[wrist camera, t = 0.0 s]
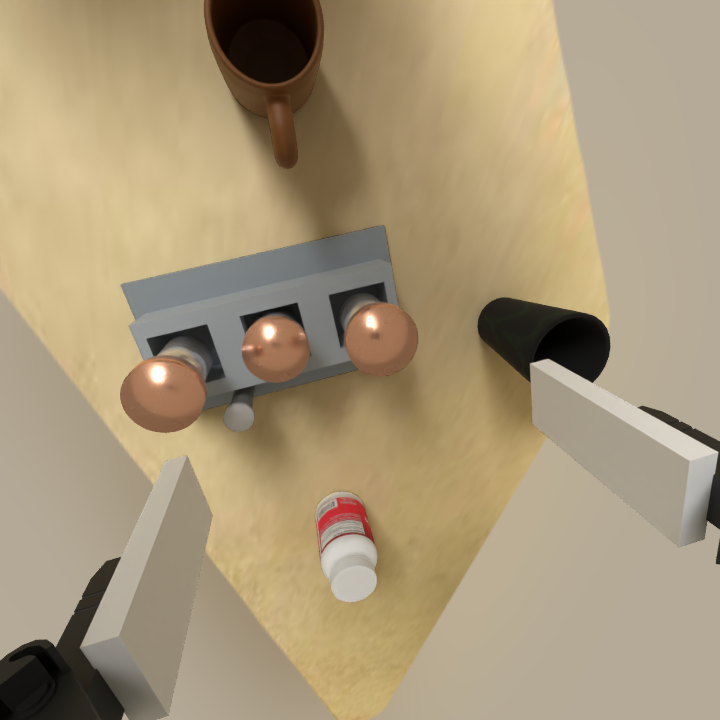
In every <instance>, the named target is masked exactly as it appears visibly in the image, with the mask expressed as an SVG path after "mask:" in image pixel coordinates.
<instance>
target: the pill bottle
mask: <svg viewBox="0 0 720 720" xmlns="http://www.w3.org/2000/svg"><path fill="white" fill-rule="evenodd" d="M315 520H316V528H317V536H318V544H319V553H320V562H321V567H322V571H323V573H324V575H325V576H326V577H327V578H328V579H329V580H330V584H331V590H332V593H333V595H334V596H335V597H336V598H337V599H339V600H341V601H344V602H357V601H360V600H363V599H364V598H366V597H368V596H369V595H370V594H371V593H372V592H373V591H374V589H375V587H376V585H377V576H376V572H375V566H376V564H377V558H378V556H377V550H376V546H375V542H374V539H373V536H372V532H371V529H370V525H369V522H368V518H367V515H366V511H365V508H364V505H363V503H362V501H361V500H360V498H359V497H358V496H356V495H355V494H353V493H350V492H335V493H332V494H330V495H328V496H326V497H325V498H324V499H323V500H322V501H321V502H320V503H319V505H318V506H317V509H316V513H315Z"/></svg>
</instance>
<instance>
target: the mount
mask: <svg viewBox="0 0 720 720" xmlns="http://www.w3.org/2000/svg"><path fill="white" fill-rule="evenodd" d="M121 287H122V290H123V292H124V294H125V297H126V299H127V301H128V304H129V306H130V308H131V311H132V313H133V315H134V318H135V320H136V321H134V322H133V323H132V324H130V325H129V328H130V330H131V333H132V335H133V337H134V339H135V342H136V344H137V346H138V349H139V351H140V353H141V356H142V358H143V360H146V359H148V358H150V357H154V356H157V355H158V354H159V353H160V351H161V350H162V349H163V348H164V347H165V345H166V344H167V343H168V342H169V341H170V340H172V339H173V338H176V337H178V336H184V335H187V336H194V337H197V338H199V339H201V340H202V341H204V342H205V343H206V344H207V345H208V347H209V348H210V350H211V352H212V356H213V363H212V367H211V369H210V371H209V373H208V376H207V378H206V380H205V382H206V385H207V397H206V401H205V404H204V406H203V409H202V410H205V409H209V408H213V407H217V406H221V405H225V404H228V403H231V401H232V397H233V393H234V390H238V389H242V388H246V387H250V386H253V385H254V386H255V391H254V397H255V396H259V395H263V394H267V393H271V392H274V391H278V390H282V389H286V388H290V387H294V386H298V385H301V384H305V383H309V382H313V381H317V380H321V379H324V378H328V377H332V376H336V375H340V374H344V373H347V372H351V371H355V370H359V369H358V368H357V367H356V366H355V365H354V364H353V363H352V361H351V359H350V357H349V355H348V353H347V351H346V348H345V344H344V332H345V331H344V329H343V327H342V325H341V323H340V319H339V313H340V309H341V306H342V304H343V303H344V301H345V300H346V299H347V298H349V297H350V296H352V295H354V294H357V293H368V294H371V295H373V296H375V297H376V298H377V299H378V300H380V301H381V302H386V303H390V304H393V305H395V306H397V307H398V301H397V295H396V290H395V284H394V278H393V272H392V266H391V262H390V256H389V250H388V244H387V238H386V232H385V226H384V225H382V226H377V227H373V228H368V229H364V230H359V231H355V232H351V233H346V234H342V235H337V236H333V237H328V238H324V239H320V240H315V241H311V242H306V243H302V244H297V245H293V246H288V247H284V248H280V249H275V250H271V251H266V252H262V253H257V254H253V255H248V256H244V257H240V258H235V259H231V260H226V261H222V262H217V263H213V264H209V265H204V266H200V267H195V268H191V269H186V270H182V271H177V272H173V273H169V274H164V275H160V276H155V277H151V278H146V279H142V280H138V281H133V282H129V283H124V284H121ZM281 306H286V307H288V308H290V309H291V310H292V311H293V312H294V313H295V315H296V317H297V320H298V324H300V325H301V327H302V328H303V329H304V331H305V332H306V334H307V337H308V341H309V346H310V356H309V360H308V363H307V365H306V367H305V368H304V370H303V371H302V372H301V373H300V374H299V375H298V376H296V377H295V378H293V379H291V380H288V381H285V382H279V383H273V382H267V381H264V380H261V379H259V378H257V377H256V376H255V375H253V374H252V373H251V372H250V371H249V370H248V368H247V367H246V365H245V363H244V361H243V357H242V344H243V340H244V337H245V334H246V332H247V330H248V329H249V327H250V326H251V325H252V324H253V323H254V322H255V321H256V317H257V315H258V313H259V312H260V311H264V310H268V309H272V308H277V307H281Z"/></svg>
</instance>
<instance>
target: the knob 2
mask: <svg viewBox="0 0 720 720" xmlns="http://www.w3.org/2000/svg"><path fill="white" fill-rule="evenodd" d="M339 319H340V323H341V325H342V327H343V329H344V331H345V332H344V344H345V348H346V351H347V353H348V355H349V357H350V359H351V361H352V363H353V364H354V365H355V366H356V367H357V368H358V369H359V370H361V371H362V372H364V373H366V374H369V375H372V376H387V375H391V374H394V373H396V372H398V371H400V370H401V369H403V368H404V367H405V366H406V365H407V364H408V363H409V362H410V361H411V359H412V358H413V356H414V354H415V352H416V349H417V345H418V332H417V328H416V325H415V323H414V322H413V320H412V319H411V317H410V316H409V315H408V314H407V313H405V312H404V311H403V310H402V309H400V308H399V307H397V306H395V305H393V304H390V303H386V302H381V301H380V300H378V299H377V298H376V297H375V296H373V295H371V294H368V293H357V294H354V295H352V296H350V297H349V298H347V299H346V300H345V301H344V303H343V304H342V306H341V309H340V313H339Z"/></svg>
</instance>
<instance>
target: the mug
mask: <svg viewBox="0 0 720 720" xmlns="http://www.w3.org/2000/svg"><path fill="white" fill-rule="evenodd" d="M204 17H205V24H206V29H207V34H208V39H209V42H210V46H211V49H212V52H213V54H214V57H215V59H216V61H217V64H218V66H219V69H220V71H221V73H222V75H223V77H224V79H225V82H226V84H227V86H228V88H229V89H230V91H231V92H232V94H233V95H234V97H235V98H236V99H237V100H238V102H239V103H240V104H242V105H243V106H244V107H245V108H246V109H248V110H249V111H251V112H252V113H254V114H257V115H259V116H262V117H266V118H268V122H269V127H270V133H271V138H272V144H273V149H274V155H275V159H276V161H277V163H278V164H279V166H281V167H283V168H286V169H289V168H292V167H293V166H294V165H295V164H296V162H297V159H298V151H297V142H296V135H295V128H294V122H293V117H292V113H294V112H295V111H297V110H298V109H299V108H300V107H301V106H302V105H303V104H304V103H305V102H306V100H307V98H308V97H309V95H310V93H311V90H312V88H313V85H314V81H315V78H316V75H317V71H318V68H319V64H320V60H321V56H322V50H323V38H324V22H323V14H322V9H321V5H320V2H319V0H205V1H204Z"/></svg>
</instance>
